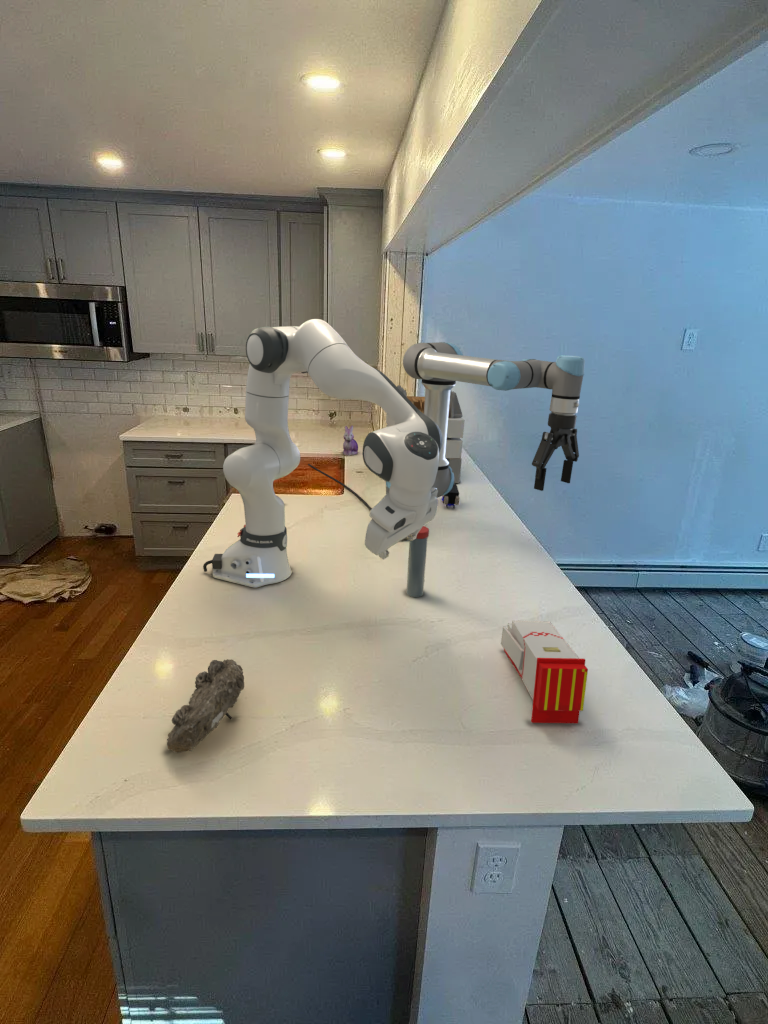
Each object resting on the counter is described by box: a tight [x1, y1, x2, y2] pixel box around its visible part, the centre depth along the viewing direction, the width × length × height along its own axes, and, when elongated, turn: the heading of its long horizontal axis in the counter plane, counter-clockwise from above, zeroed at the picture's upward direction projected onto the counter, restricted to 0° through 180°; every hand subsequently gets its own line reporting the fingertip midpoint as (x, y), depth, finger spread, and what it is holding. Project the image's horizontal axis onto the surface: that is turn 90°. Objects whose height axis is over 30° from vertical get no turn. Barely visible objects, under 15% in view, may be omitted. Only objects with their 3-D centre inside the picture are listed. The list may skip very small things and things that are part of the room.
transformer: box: [385, 384, 465, 484], centre depth 268 cm, size 34×33×41 cm
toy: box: [500, 620, 589, 724], centre depth 121 cm, size 12×13×30 cm
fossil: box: [166, 658, 245, 754], centre depth 106 cm, size 22×10×15 cm
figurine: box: [342, 424, 359, 456], centre depth 303 cm, size 9×10×15 cm
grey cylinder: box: [405, 536, 429, 598], centre depth 156 cm, size 5×5×19 cm
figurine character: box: [441, 483, 460, 509], centre depth 231 cm, size 7×8×15 cm
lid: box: [416, 525, 430, 539], centre depth 153 cm, size 5×5×2 cm
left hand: (397, 547), depth 131 cm, fingers open, 8 cm apart
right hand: (552, 485), depth 166 cm, fingers open, 13 cm apart
